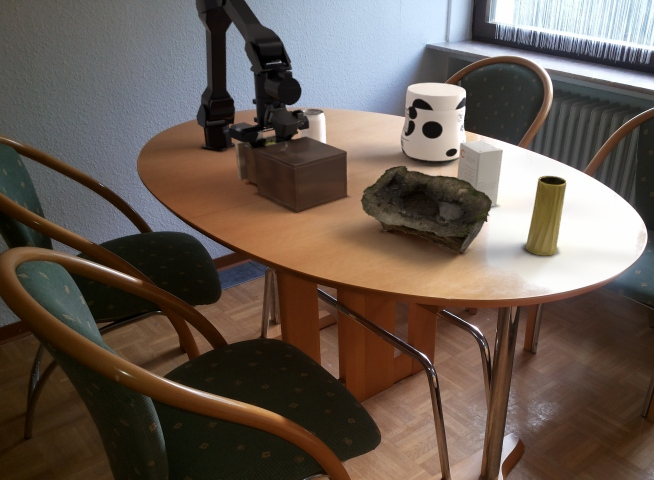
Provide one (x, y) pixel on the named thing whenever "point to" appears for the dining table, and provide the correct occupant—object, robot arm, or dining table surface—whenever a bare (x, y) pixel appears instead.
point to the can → (315, 125)
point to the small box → (481, 167)
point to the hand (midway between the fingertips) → (272, 162)
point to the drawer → (248, 159)
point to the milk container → (433, 122)
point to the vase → (546, 215)
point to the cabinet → (301, 173)
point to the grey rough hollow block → (428, 206)
